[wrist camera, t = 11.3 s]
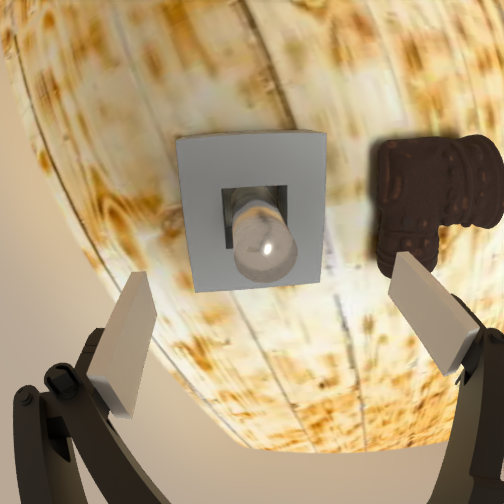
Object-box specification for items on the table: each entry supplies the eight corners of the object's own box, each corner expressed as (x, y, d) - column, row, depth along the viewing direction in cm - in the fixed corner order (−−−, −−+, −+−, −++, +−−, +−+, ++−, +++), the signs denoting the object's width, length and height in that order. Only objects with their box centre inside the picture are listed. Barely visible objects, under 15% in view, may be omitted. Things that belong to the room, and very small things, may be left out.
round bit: (229, 182, 28) (231, 228, 17) (270, 180, 28) (298, 223, 18) (232, 221, 30) (236, 285, 19) (271, 218, 30) (296, 280, 19)
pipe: (389, 297, 27) (499, 272, 24) (382, 142, 21) (508, 139, 18) (367, 255, 36) (462, 240, 33) (355, 136, 30) (461, 131, 27)
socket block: (184, 136, 26) (175, 140, 21) (309, 130, 26) (326, 133, 22) (199, 267, 32) (195, 292, 27) (307, 258, 32) (319, 282, 28)
